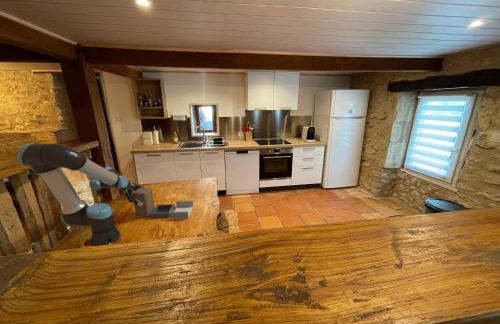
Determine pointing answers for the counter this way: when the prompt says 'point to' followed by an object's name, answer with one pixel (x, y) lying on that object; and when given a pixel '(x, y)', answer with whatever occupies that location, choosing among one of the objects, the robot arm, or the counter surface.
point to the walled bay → (182, 210)
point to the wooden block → (144, 202)
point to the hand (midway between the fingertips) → (146, 201)
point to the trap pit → (162, 211)
